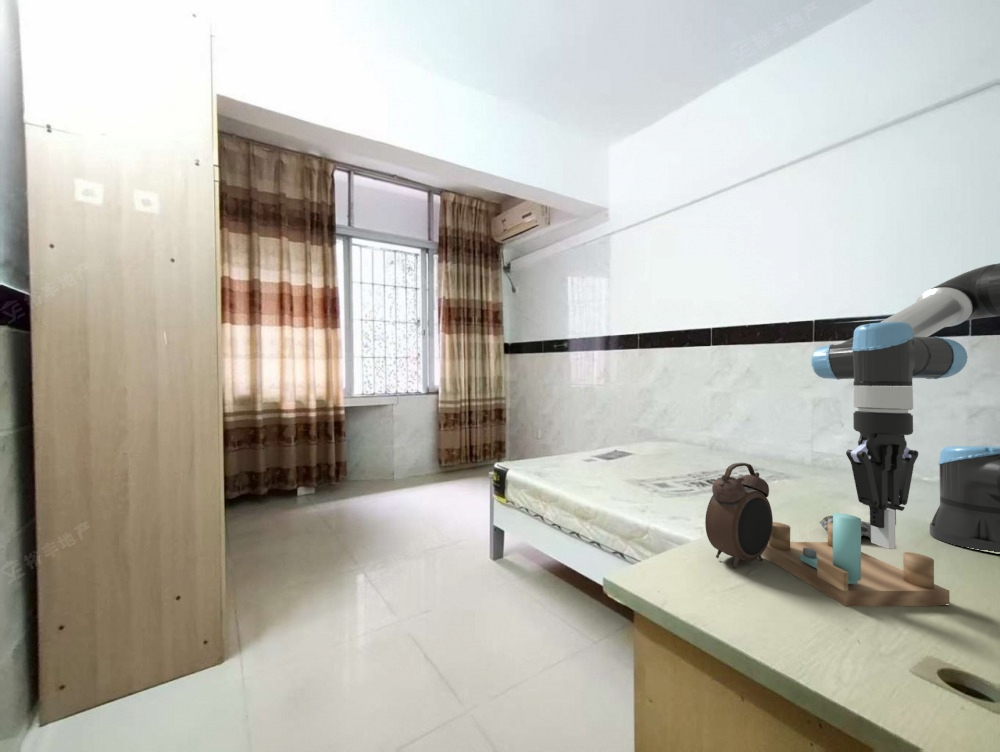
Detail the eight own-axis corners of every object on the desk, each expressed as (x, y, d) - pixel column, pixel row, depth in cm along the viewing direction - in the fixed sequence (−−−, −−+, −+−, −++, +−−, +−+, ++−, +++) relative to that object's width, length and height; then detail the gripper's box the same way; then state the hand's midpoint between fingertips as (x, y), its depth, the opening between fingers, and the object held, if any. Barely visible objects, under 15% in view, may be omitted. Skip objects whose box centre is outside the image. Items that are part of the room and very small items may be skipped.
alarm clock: (737, 576, 74) (738, 469, 74) (701, 560, 80) (702, 462, 80) (780, 561, 80) (780, 464, 81) (744, 548, 87) (745, 458, 87)
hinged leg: (814, 559, 75) (814, 501, 76) (867, 586, 65) (867, 520, 65) (796, 559, 75) (796, 501, 75) (846, 587, 65) (846, 520, 65)
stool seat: (839, 553, 85) (839, 521, 85) (949, 605, 65) (949, 563, 65) (757, 553, 84) (757, 521, 84) (843, 606, 64) (843, 563, 64)
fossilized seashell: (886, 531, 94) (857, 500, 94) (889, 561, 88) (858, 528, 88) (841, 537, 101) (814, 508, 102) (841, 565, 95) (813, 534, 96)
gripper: (886, 409, 74) (887, 534, 73) (830, 409, 71) (830, 539, 71) (937, 412, 66) (939, 551, 66) (876, 412, 64) (877, 557, 63)
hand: (883, 545), depth 68 cm, fingers closed
